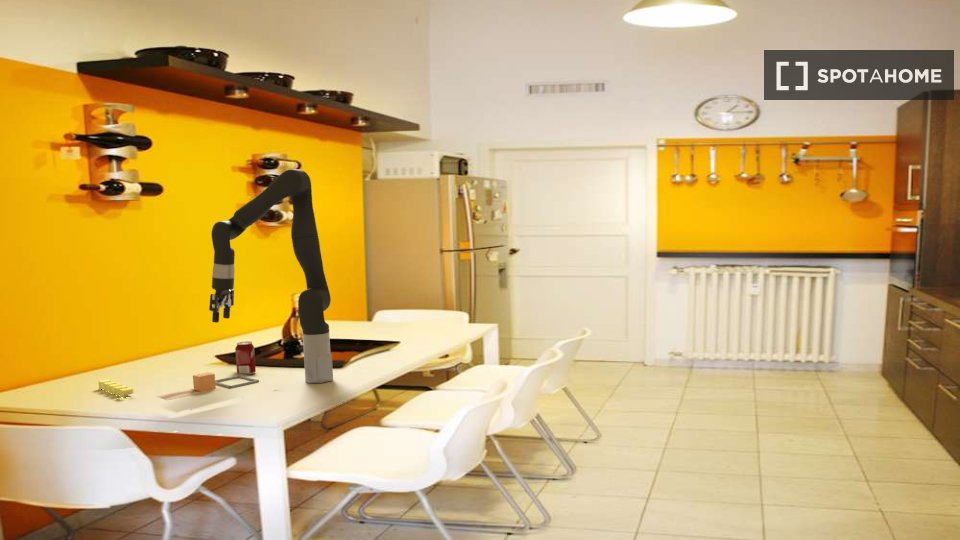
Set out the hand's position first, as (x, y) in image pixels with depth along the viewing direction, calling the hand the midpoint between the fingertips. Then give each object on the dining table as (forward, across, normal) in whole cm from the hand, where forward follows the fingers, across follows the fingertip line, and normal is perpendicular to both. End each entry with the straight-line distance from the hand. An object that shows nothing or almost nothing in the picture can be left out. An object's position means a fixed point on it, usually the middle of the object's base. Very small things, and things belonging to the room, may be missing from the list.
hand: (221, 320), depth 280 cm
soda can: (+22, +8, -7) cm, 24 cm away
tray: (+20, -11, -12) cm, 26 cm away
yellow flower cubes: (+26, -18, +27) cm, 41 cm away
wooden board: (+22, -25, -2) cm, 33 cm away
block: (+20, -20, -5) cm, 29 cm away
